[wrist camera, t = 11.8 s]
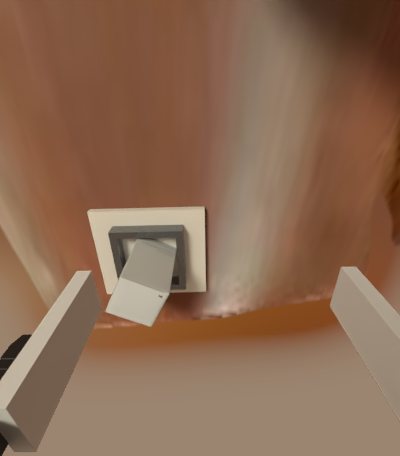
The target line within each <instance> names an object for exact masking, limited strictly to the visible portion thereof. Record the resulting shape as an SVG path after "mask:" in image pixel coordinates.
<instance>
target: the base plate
mask: <svg viewBox="0 0 400 456" xmlns="http://www.w3.org/2000/svg"><path fill="white" fill-rule="evenodd" d="M87 213H88V217H89V221H90V225H91V229H92V234H93V238H94V242H95V246H96V250H97V254H98V258H99V262H100V266H101V271H102V275H103V279H104V283H105V287H106V291H107V294H112V293H113V291H114V288H115V286H116V284H117V282H118V278H117V273H116V269H115V264H114V259H113V254H112V250H111V245H110V240H109V236H108V232H109V231H110V229H111V228H112V226H144V225H183V229H184V246H185V263H186V280H187V283H186V290H170V293H174V292H206V258H205V207H166V208H126V209H90V210H89V211H88V212H87ZM154 239H156V240H159V241H161V242H164V243H166V244H168V245H171V246H173V247H175V248H176V238H154ZM136 241H137V239H122V243H123V248H124V254H125V259H126V262H127V260H128V258H129V255H130V253H131V251H132V249H133V247H134V245H135V243H136ZM174 276H179V274H178V261H177V249H176V256H175V262H174V269H173V275H172V277H174Z"/></svg>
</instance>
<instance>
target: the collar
mask: <svg viewBox="0 0 400 456" xmlns="http://www.w3.org/2000/svg"><path fill="white" fill-rule="evenodd" d="M108 236H109V240H110V245H111V250H112V254H113V259H114V264H115V269H116V273H117V278H118V279H119V277H120V275H121V273H122V271H123V268H124V266H125V264H126V259H125V254H124V248H123V243H122V239H140V238H176V248H177V261H178V274H179V276H174V277H172V281H171V288H170V290H186V283H187V280H186V263H185V246H184V229H183V225H144V226H112V228H111V229H110V231H109V232H108Z"/></svg>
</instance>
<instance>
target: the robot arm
mask: <svg viewBox="0 0 400 456" xmlns="http://www.w3.org/2000/svg"><path fill="white" fill-rule="evenodd" d="M330 307H331V309H332V311H333V312H334V314H335V316H336V317H337V319H338V320H339V322H340V324H341V325H342V327H343V329H344V330H345V332H346V334H347V335H348V337H349V339H350V340H351V342H352V344H353V345H354V347H355V349H356V350H357V352H358V354H359V355H360V357H361V359H362V360H363V362H364V364H365V365H366V367H367V368H368V370H369V372H370V374H371V375H372V377H373V378H374V380H375V382H376V383H377V385H378V387H379V388H380V390H381V392H382V393H383V395H384V396H385V398H386V400H387V402H388V403H389V405H390V407H391V408H392V410H393V412H394V413H395V415H396V416H397V418H398V420H399V422H400V316H399V314H398V313H397V312H396V311H395V310H394V309H393V308H392V307H391V305H390V304H389V303H388V302H387V301H386V300H385V299H384V298H383V296H382V295H381V294H380V293H379V292H378V291H377V290H376V289H375V287H373V285H372V284H371V283H370V282H369V281H368V280H367V278H366V277H365V276H364V275H363V274H362V273H361V272H360V271H359V270H358V268H357V267H341V269H340V273H339V276H338V279H337V283H336V286H335V290H334V293H333V296H332V300H331V303H330ZM101 310H102V307H101V303H100V300H99V296H98V292H97V289H96V285H95V282H94V278H93V275H92V271H77V272H76V273H75V275H74V276H73V278H72V279H71V280H70V282H69V283H68V285H67V286H66V288H65V289H64V290H63V292H62V293H61V295H60V296H59V298H58V299H57V300H56V302H55V303H54V305H53V306H52V307H51V309H50V310H49V312H48V313H47V315H46V316H45V318H44V319H43V320H42V322H41V323H40V325H39V326H38V328H37V329H36V330H35V332H34V333H33V335H22V336H21V337H20V338H18V339H17V340H16V341H15V342H14V343H12V344H11V345H10V346H9V347H8V349H7V350H6V351H5V353H4V354H3V356H2V357H1V360H0V456H2V454H3V452H4V451H5V448H6V447H7V445H9V446H10V447H11V448H12V450H13V451H14V452H36V451H37V449H38V446H39V444H40V442H41V440H42V438H43V436H44V434H45V431H46V429H47V427H48V425H49V423H50V420H51V418H52V416H53V414H54V412H55V410H56V408H57V405H58V403H59V401H60V399H61V397H62V395H63V392H64V390H65V388H66V386H67V384H68V382H69V379H70V377H71V375H72V373H73V371H74V368H75V366H76V364H77V362H78V360H79V357H80V355H81V353H82V351H83V349H84V347H85V345H86V343H87V340H88V338H89V336H90V334H91V332H92V330H93V328H94V325H95V323H96V321H97V319H98V317H99V315H100V312H101Z"/></svg>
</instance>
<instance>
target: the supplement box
mask: <svg viewBox="0 0 400 456" xmlns="http://www.w3.org/2000/svg"><path fill="white" fill-rule="evenodd" d="M176 249H177V248H175V247H173V246H171V245H168V244H166V243H164V242H161V241H159V240H156V239H154V238H140V239H137V241H136V243H135V245H134V247H133V249H132V251H131V253H130V255H129V258H128V260H127V262H126V264H125V266H124V268H123V271H122V273H121V275H120V277H119V279H118V282H117V284H116V286H115V288H114V291H113V293H112V296H111V298H110V301H109V303H108V306H107V309H106V312H107V313H110V314H113V315H116V316H119V317H122V318H125V319H128V320H131V321H135V322H138V323H141V324H143V325H146V326H150V327H151V326H152V324H153V323H154V321H155V319H156V317H157V315H158V314H159V312H160V310H161V308H162V306H163V305H164V303H165V301H166V299H167V298H168V296H169V294H170V288H171V281H172V275H173V269H174V262H175V256H176Z"/></svg>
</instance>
